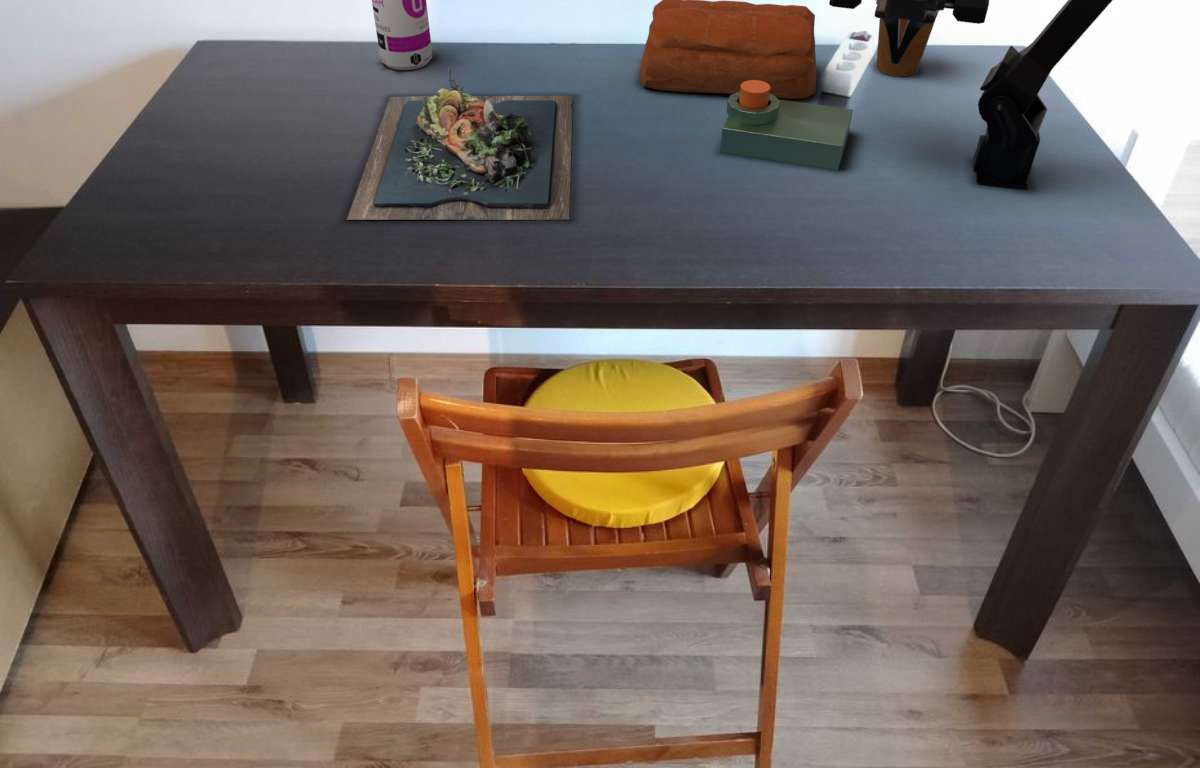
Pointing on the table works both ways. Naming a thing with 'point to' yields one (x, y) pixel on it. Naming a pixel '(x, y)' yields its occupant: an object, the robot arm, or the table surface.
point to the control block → (787, 132)
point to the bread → (730, 47)
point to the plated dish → (469, 159)
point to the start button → (754, 94)
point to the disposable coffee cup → (911, 55)
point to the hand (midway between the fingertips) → (894, 63)
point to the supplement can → (403, 33)
